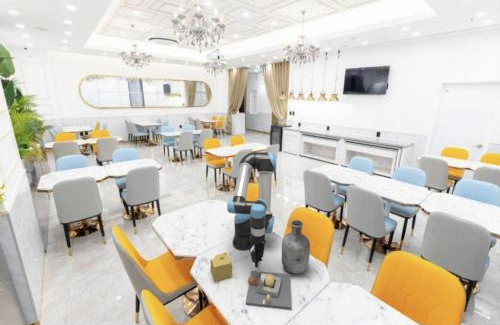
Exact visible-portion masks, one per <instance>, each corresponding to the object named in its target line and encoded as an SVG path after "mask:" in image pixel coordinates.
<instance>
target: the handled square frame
mask: <svg viewBox="0 0 500 325" xmlns="http://www.w3.org/2000/svg"><path fill="white" fill-rule="evenodd" d="M266 275H267V274H263V273H262V275H261V278H260V279H259V278H255V277H251V275H249V277H248V279H247V284H248V285H249V284H251V285H255V286H257V293H261V294H265V295H268V294H269V295H270V296H273V297H277V298H278V294H279V290H280V286H281V282H282V278H281V277H276V276H274V284H275V287H274V288H270V287H265V286H264V284H265V276H266Z"/></svg>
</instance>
